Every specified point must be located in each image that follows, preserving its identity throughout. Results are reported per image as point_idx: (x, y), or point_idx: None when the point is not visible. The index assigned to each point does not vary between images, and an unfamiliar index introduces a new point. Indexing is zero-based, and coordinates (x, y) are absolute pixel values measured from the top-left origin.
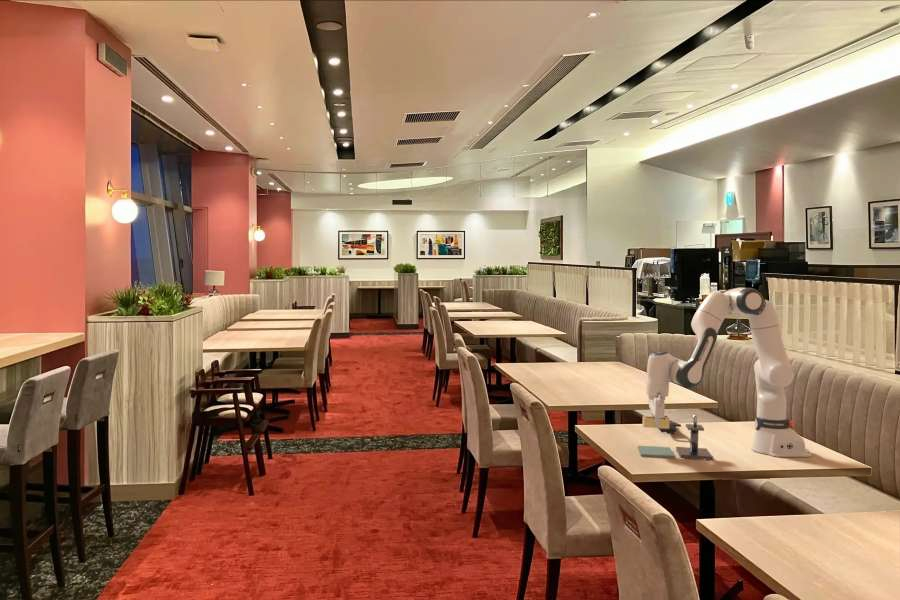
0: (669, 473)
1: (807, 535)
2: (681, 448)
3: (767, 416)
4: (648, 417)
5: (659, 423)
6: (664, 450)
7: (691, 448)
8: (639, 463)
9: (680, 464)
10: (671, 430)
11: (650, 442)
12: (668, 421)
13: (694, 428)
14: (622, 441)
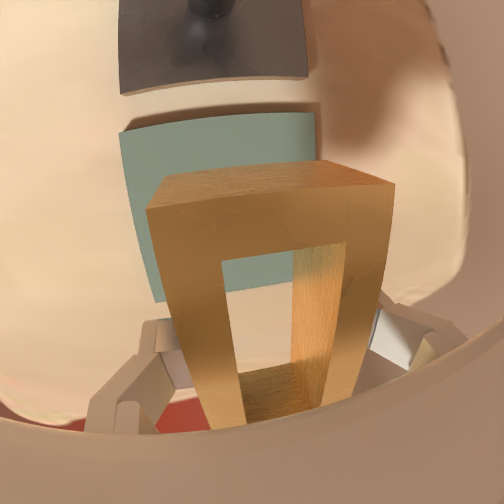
0: (468, 176)
1: None
2: (153, 61)
3: None
4: (245, 424)
5: (386, 296)
6: (206, 161)
7: (229, 4)
8: (394, 268)
9: (392, 107)
10: None
11: (31, 243)
12: (380, 196)
13: None
14: (87, 349)
